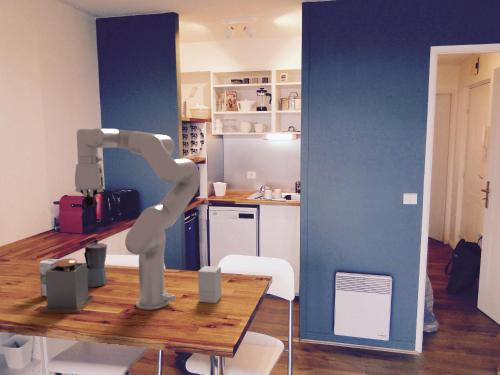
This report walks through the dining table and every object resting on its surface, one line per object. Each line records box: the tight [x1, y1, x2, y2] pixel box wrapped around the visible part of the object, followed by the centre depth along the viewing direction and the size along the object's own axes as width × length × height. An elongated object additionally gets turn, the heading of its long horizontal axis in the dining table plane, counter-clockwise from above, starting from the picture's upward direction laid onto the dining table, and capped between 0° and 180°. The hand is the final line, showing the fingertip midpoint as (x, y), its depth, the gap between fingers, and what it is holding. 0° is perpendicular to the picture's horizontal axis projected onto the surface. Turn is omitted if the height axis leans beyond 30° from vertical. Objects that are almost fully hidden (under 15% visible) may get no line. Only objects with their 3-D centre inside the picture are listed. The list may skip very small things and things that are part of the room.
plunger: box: [56, 257, 78, 271], centre depth 162 cm, size 8×8×14 cm
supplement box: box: [197, 265, 222, 304], centre depth 168 cm, size 7×7×13 cm
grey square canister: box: [40, 262, 95, 314], centre depth 162 cm, size 14×14×15 cm
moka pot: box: [83, 239, 108, 288], centre depth 185 cm, size 10×15×20 cm, turn 174°
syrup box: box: [38, 258, 59, 298], centre depth 173 cm, size 6×6×14 cm
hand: (90, 206), depth 168 cm, fingers closed
